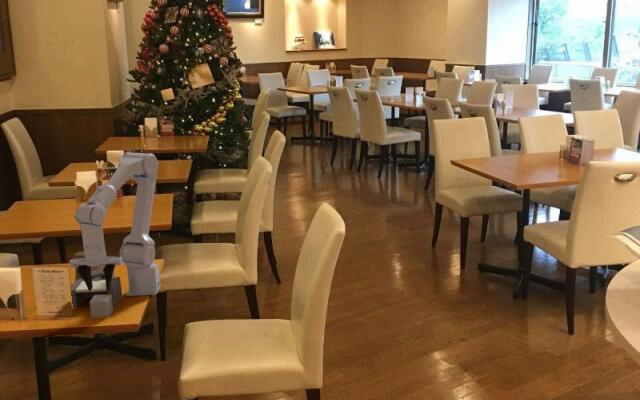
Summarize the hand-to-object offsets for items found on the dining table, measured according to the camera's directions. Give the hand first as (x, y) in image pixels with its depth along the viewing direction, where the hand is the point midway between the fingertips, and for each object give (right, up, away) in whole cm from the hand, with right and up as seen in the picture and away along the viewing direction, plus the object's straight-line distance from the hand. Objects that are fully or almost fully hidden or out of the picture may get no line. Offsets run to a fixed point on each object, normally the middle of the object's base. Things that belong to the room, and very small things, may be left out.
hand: (99, 289), depth 191 cm
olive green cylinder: (-13, -2, +25) cm, 28 cm away
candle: (-10, 0, +32) cm, 33 cm away
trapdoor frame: (-4, -5, +10) cm, 12 cm away
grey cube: (0, -8, +2) cm, 8 cm away
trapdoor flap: (-4, -2, +11) cm, 12 cm away
